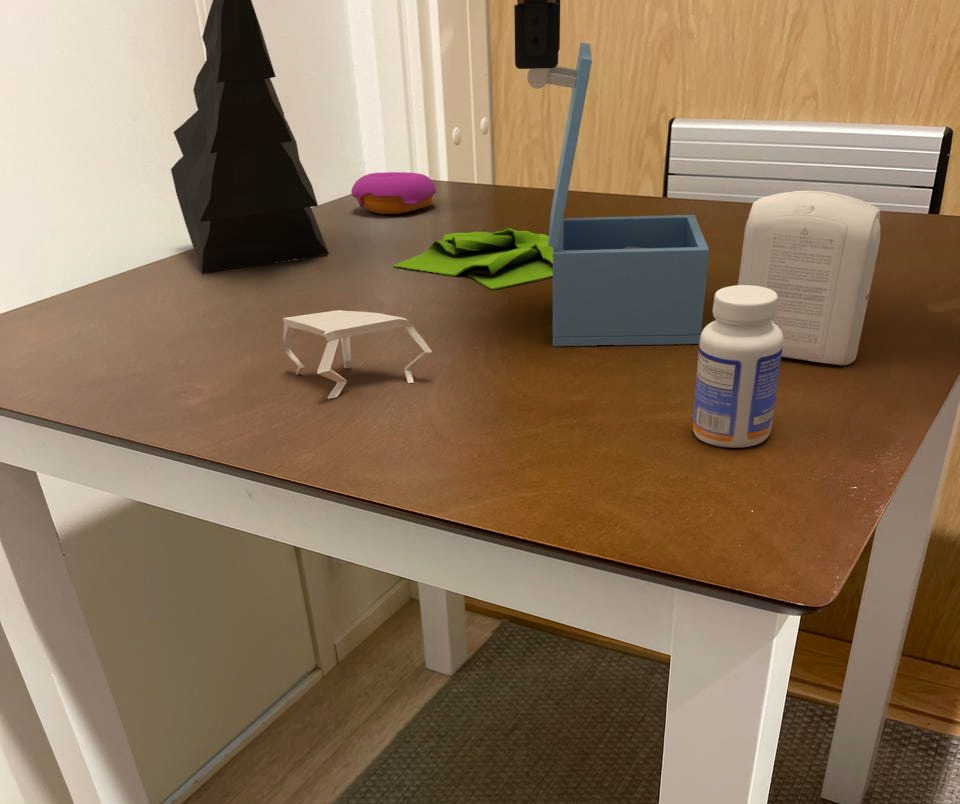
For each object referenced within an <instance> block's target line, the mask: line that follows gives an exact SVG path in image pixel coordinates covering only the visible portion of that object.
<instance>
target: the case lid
mask: <svg viewBox="0 0 960 804" xmlns="http://www.w3.org/2000/svg"><path fill="white" fill-rule="evenodd" d="M591 50H592V49H591V44H590V43H586V42H580V44H579V50H578V54H577V61H576V65H575V68H571V67H567V66H558V65H557V66H556V67H555V68H540V69H528V70H527V73H526V79H527V83H528V85H529V86H530V87H531V88H533V89H537V90H539V89H542V88H543V87H545V85H546V84H547V85H554V86H559V87H563V88H570V89H571V94H570V100H569V107H568V113H567V118H566V122H565V123H566V124H565V129H564V134H563V141H562V146H561V152H560V158H559V164H558V169H557V174H556V179H555V186H554V191H553V196H552V197H553V198H552V203H551V209H550V215H549V217H550V218H549V230H548V236H549V241H548V246H549V247H555V248H557V247H558V243H559V238H560V233H561V227H562V222H563V218H564V216H565V211H566V206H567V205H566V204H567V200H568V194H569V188H570V183H571V179H572V173H573V167H574V161H575V155H576V152H577V151H576V150H577V145H578V140H579V135H580V129H581V123H582V117H583V113H584V107H585V100H586V96H587V91H588V85H589V80H590V74H591V69H592V63H593V58H592V51H591Z"/></svg>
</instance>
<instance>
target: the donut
mask: <svg viewBox="0 0 960 804" xmlns="http://www.w3.org/2000/svg"><path fill="white" fill-rule="evenodd" d="M350 192H351V196H352V198H355V199H356V200H357V203H358V205H359V207H360V208H363V209H365V210H367V211H369V212H372V213H375V214H379V215H385V214H397V215H399V214H398V213H404V214H406V213H405V212H408V213H410V212H409V211H412V212H415V211H418V210H417V209H419V210H421V209H420V208H422V209H425V208H424V207H426V208H428V207H429V206H431V205H432V203H433V196H434V194H436V193H437V189H436V186H435V183H434V181H433V180H432V179H431V178H430V177H429V176H427V175H425V174H422V173H417V172H407V171H406V172H405V171H404V172H403V171H400V172H399V171H393V172H392V171H388V172H387V171H385V172H371V173H368V174H365V175H363V176H361V177H359V178H358V179H357V180H356V181H355V182H354V184H353V185H352V188H351V191H350ZM427 206H428V207H427ZM414 210H415V211H414Z"/></svg>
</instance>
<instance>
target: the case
mask: <svg viewBox="0 0 960 804" xmlns="http://www.w3.org/2000/svg"><path fill="white" fill-rule="evenodd" d="M628 246H633V247H640V248H644V249H624V248H626V247H628ZM709 254H710V249H709V246H708V244H707V241H706V238H705V237H704V234H703V232H702V229H701V227H700V225H699V222H698V220H697V217H696V215H695V214H675V215H671V214H670V215H638V216H637V215H636V216H604V217H601V216H599V217H598V216H597V217H567V218H566V217H565V218H564V217H563V222H562V227H561V233H560V238H559V243H558V247H557V248H555V247H553V277H552V347H597V345H614V346H659V345H660V346H665V345H666V346H667V345H669V346H670V345H671V346H672V345H676V344H677V345H699V344H700V336H701V333H702V331H703V321H704V311H705V310H704V308H705V299H706V289H707V288H706V287H707V278H708V266H709V258H710V257H709V256H710V255H709Z"/></svg>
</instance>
